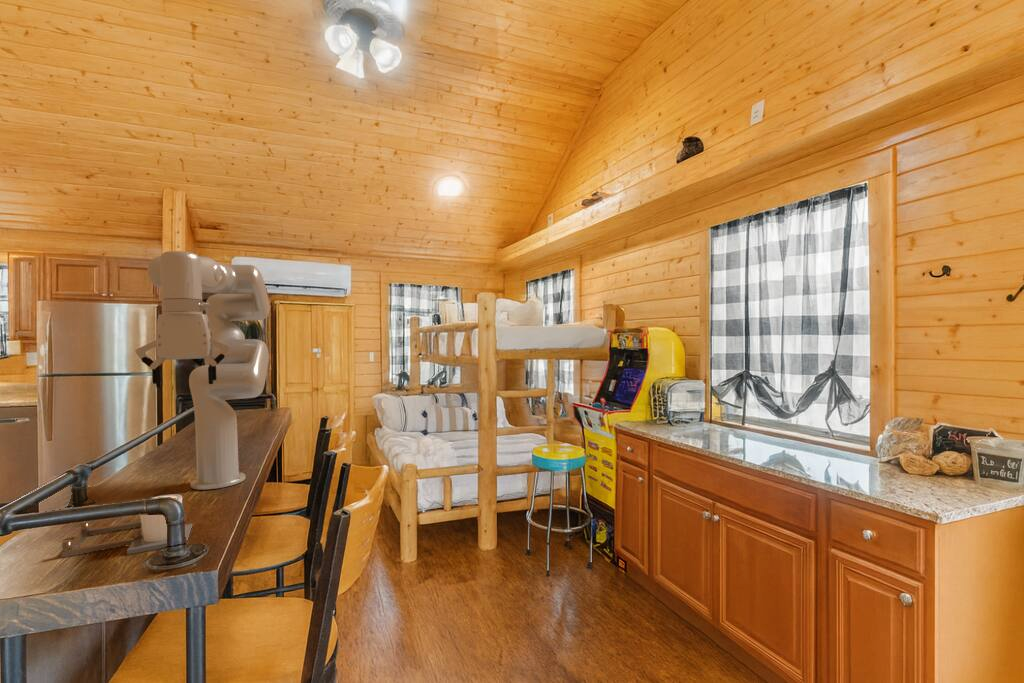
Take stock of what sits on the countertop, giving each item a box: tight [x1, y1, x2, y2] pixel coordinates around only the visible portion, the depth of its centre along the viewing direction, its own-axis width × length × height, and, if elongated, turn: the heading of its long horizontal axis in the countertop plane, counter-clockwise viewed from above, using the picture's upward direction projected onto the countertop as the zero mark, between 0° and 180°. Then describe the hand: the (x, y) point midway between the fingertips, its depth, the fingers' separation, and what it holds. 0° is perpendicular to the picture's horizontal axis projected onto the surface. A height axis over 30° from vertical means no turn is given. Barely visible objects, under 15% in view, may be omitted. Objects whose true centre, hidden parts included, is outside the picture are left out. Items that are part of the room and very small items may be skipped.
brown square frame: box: [61, 520, 143, 558], centre depth 95 cm, size 11×11×2 cm
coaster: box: [126, 523, 194, 556], centre depth 94 cm, size 9×9×1 cm
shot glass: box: [139, 493, 183, 542], centre depth 94 cm, size 7×7×7 cm
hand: (185, 385), depth 109 cm, fingers open, 9 cm apart
